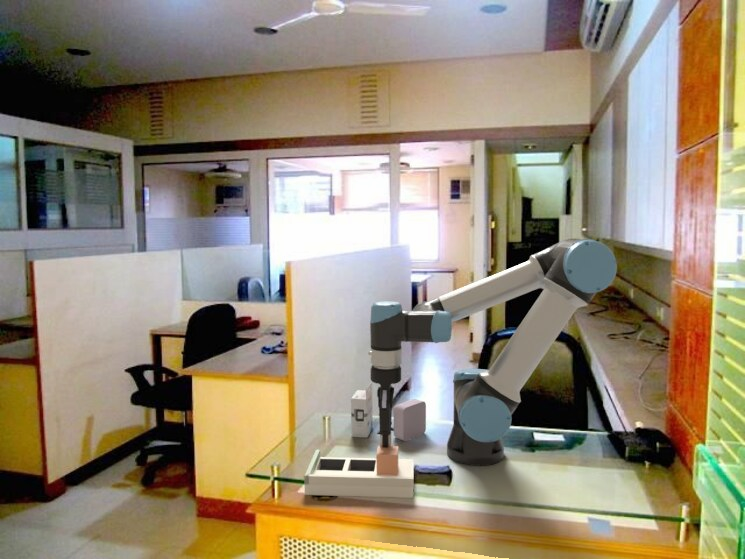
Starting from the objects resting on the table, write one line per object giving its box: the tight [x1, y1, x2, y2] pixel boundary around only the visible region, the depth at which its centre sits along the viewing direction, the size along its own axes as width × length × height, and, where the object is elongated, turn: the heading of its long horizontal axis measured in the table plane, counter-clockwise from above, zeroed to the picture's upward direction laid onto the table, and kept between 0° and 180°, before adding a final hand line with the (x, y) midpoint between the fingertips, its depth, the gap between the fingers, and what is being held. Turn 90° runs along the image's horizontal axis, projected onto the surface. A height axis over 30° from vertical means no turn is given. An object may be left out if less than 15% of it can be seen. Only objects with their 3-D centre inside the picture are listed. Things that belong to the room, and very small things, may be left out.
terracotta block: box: [375, 445, 399, 475], centre depth 132 cm, size 5×5×5 cm
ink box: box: [350, 380, 374, 438], centre depth 162 cm, size 9×5×15 cm, turn 168°
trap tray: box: [303, 449, 415, 499], centre depth 131 cm, size 25×15×4 cm, turn 85°
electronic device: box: [393, 398, 427, 442], centre depth 160 cm, size 10×5×10 cm, turn 135°
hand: (385, 457), depth 135 cm, fingers closed
